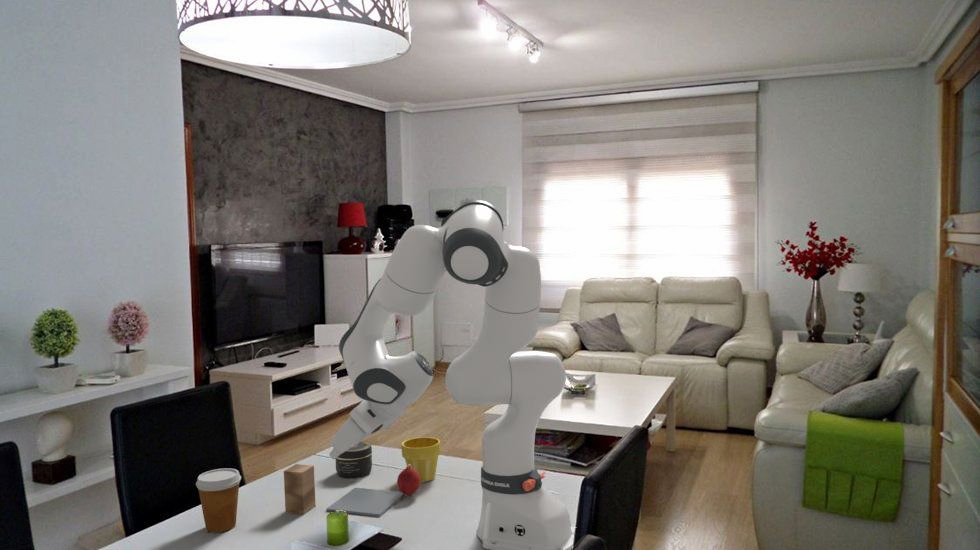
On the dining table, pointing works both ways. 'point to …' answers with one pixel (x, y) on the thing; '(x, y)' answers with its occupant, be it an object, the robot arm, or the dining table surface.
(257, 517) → the dining table surface
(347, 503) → the slate coaster
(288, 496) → the walnut block
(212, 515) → the disposable coffee cup
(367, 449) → the jar
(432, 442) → the plant pot
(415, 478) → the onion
